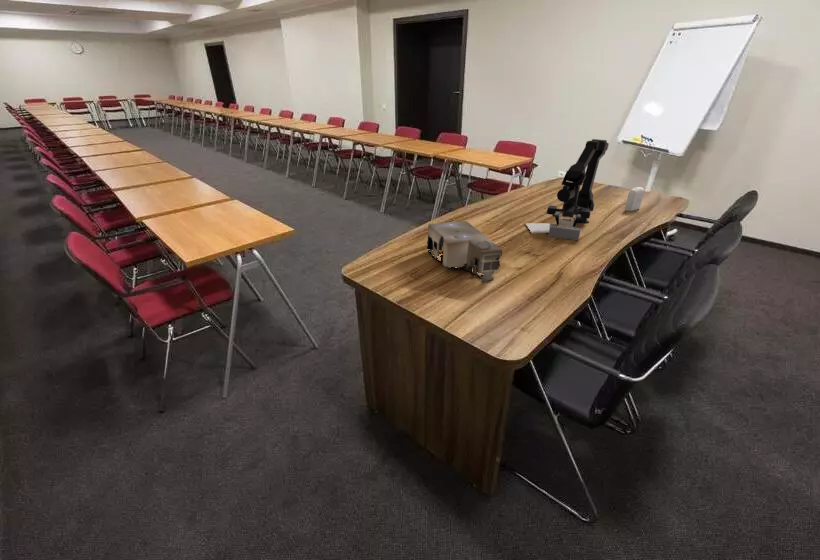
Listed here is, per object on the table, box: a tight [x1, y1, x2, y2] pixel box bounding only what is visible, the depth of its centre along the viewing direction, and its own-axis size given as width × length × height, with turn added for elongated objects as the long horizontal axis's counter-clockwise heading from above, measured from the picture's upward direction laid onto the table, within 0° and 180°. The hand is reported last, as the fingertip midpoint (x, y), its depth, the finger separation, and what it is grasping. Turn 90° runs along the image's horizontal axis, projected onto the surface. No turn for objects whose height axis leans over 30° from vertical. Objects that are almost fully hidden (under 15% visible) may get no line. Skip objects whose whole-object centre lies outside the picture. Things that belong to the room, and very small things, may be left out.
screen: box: [548, 223, 582, 241], centre depth 174 cm, size 3×14×6 cm, turn 67°
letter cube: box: [559, 216, 574, 226], centre depth 181 cm, size 6×6×6 cm
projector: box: [426, 220, 503, 283], centre depth 148 cm, size 18×33×13 cm, turn 16°
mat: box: [525, 222, 551, 234], centre depth 186 cm, size 12×12×1 cm
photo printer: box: [624, 186, 645, 212], centre depth 209 cm, size 10×4×12 cm, turn 123°
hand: (565, 229), depth 182 cm, fingers open, 6 cm apart
